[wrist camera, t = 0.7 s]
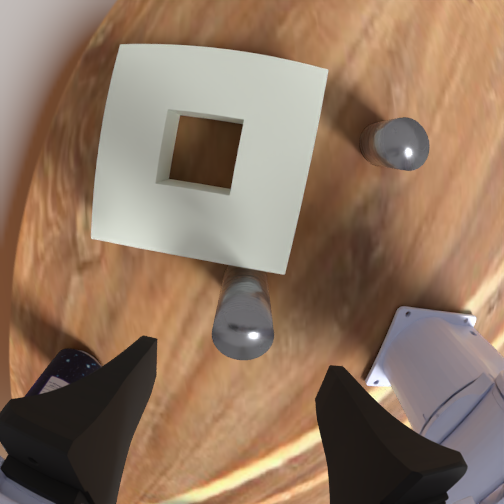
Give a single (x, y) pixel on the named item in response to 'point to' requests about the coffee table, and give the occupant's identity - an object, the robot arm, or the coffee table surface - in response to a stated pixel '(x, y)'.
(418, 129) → the short pin
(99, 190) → the hole block
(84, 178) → the coffee table surface
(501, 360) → the robot arm
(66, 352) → the beverage can
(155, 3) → the coffee table surface
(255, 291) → the long pin
